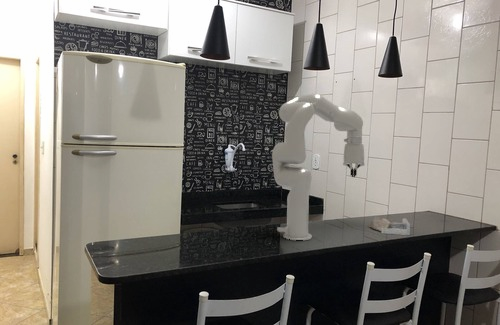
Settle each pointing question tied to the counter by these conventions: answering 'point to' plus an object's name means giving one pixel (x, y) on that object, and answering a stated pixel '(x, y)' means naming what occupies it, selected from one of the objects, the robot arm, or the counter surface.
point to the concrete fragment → (379, 223)
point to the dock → (403, 229)
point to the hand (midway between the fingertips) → (353, 176)
